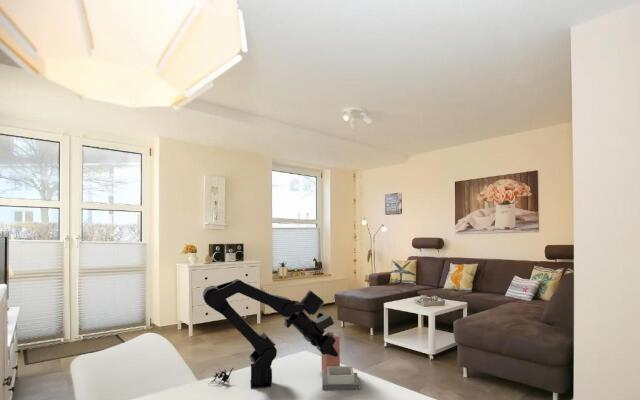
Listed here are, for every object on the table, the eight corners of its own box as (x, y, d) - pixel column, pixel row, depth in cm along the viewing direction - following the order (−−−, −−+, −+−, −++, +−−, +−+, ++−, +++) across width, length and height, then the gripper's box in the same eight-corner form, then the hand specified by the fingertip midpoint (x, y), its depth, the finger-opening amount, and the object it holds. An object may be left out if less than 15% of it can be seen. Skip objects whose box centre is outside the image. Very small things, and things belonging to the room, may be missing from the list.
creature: (204, 387, 128) (218, 387, 124) (202, 370, 129) (216, 369, 125) (223, 379, 134) (238, 379, 130) (221, 363, 136) (235, 363, 131)
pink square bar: (326, 376, 133) (326, 335, 134) (321, 371, 138) (321, 331, 139) (340, 374, 135) (339, 333, 136) (334, 369, 139) (333, 330, 141)
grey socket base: (322, 389, 122) (322, 376, 122) (322, 377, 132) (322, 365, 132) (359, 389, 122) (359, 376, 122) (356, 377, 132) (356, 365, 132)
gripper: (329, 312, 128) (359, 342, 131) (311, 302, 145) (338, 329, 148) (307, 339, 124) (339, 369, 128) (291, 325, 142) (319, 352, 145)
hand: (334, 353), depth 137 cm, fingers closed on pink square bar, 5 cm apart
